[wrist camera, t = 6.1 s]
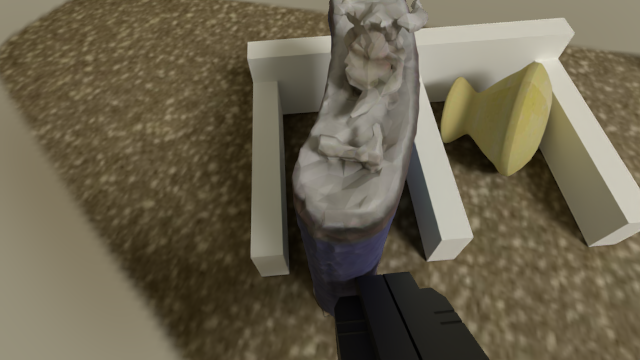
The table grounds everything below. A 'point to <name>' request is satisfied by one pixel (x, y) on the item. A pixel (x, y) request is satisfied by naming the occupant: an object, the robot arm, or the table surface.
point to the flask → (358, 143)
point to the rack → (428, 151)
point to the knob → (501, 116)
